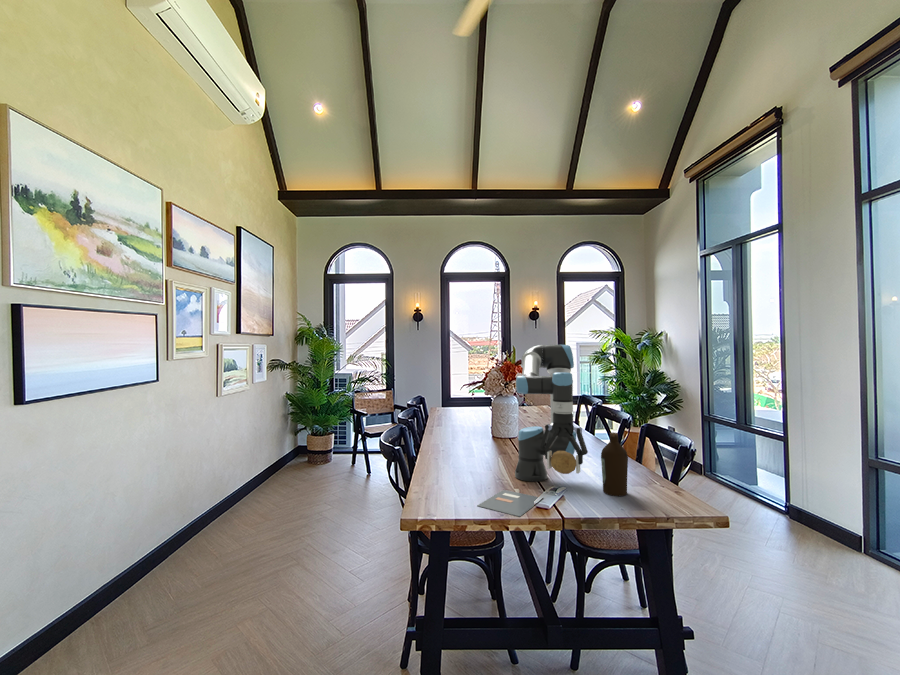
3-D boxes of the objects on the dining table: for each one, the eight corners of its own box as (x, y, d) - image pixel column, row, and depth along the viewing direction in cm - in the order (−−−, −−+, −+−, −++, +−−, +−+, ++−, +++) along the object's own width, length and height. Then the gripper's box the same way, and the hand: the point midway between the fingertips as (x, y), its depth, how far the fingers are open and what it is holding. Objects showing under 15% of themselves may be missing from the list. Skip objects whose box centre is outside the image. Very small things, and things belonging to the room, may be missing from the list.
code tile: (503, 490, 176) (503, 489, 176) (543, 498, 165) (543, 497, 165) (477, 506, 158) (477, 505, 158) (519, 516, 147) (519, 515, 147)
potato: (571, 467, 164) (571, 447, 164) (581, 478, 149) (580, 456, 150) (546, 467, 164) (546, 447, 164) (554, 478, 150) (554, 456, 150)
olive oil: (628, 490, 175) (626, 431, 176) (629, 498, 165) (628, 436, 166) (601, 487, 179) (600, 430, 180) (601, 495, 169) (600, 434, 170)
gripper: (531, 411, 161) (531, 467, 160) (590, 416, 148) (591, 477, 147) (538, 409, 167) (539, 463, 166) (596, 413, 154) (597, 472, 153)
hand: (563, 470), depth 157 cm, fingers closed on potato, 10 cm apart
